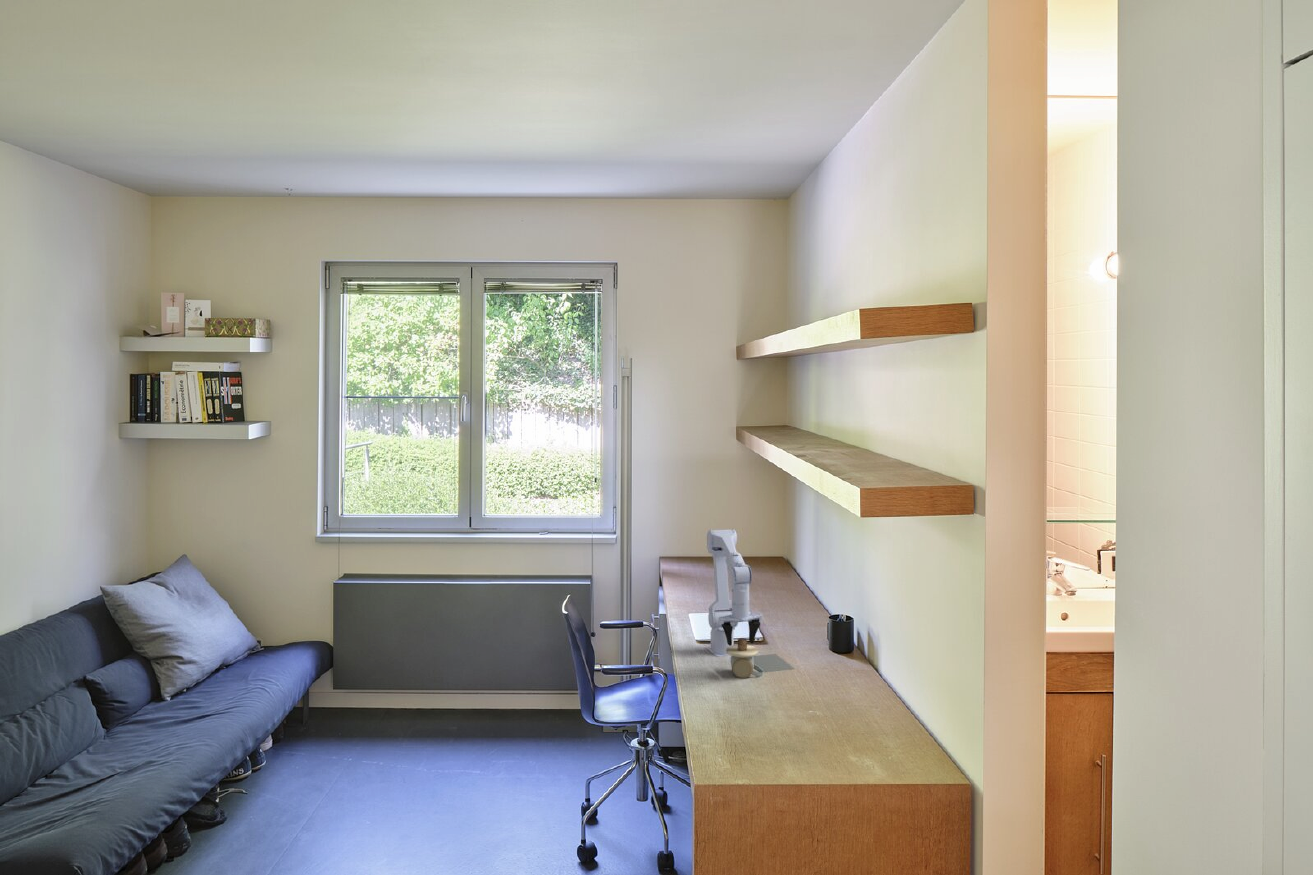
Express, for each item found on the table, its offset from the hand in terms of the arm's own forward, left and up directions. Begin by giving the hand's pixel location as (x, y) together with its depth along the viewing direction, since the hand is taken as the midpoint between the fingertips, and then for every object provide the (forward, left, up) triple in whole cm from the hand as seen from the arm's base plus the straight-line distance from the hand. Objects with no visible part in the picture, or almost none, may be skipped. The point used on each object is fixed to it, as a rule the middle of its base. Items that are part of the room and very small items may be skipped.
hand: (740, 643), depth 268 cm
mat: (-7, +13, -10) cm, 18 cm away
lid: (0, +1, -3) cm, 3 cm away
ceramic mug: (+1, +2, -11) cm, 11 cm away
